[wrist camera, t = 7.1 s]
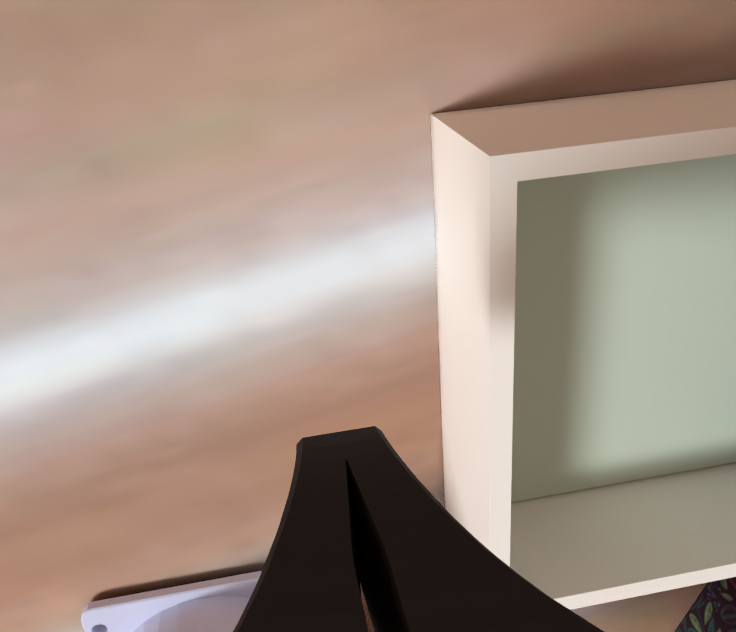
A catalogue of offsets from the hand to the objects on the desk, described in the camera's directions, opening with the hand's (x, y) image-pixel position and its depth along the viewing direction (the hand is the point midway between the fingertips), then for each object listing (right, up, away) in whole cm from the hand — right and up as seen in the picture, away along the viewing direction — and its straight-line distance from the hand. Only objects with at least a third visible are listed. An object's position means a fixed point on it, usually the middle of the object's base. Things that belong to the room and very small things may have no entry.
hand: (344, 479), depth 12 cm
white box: (+10, +3, +11) cm, 16 cm away
